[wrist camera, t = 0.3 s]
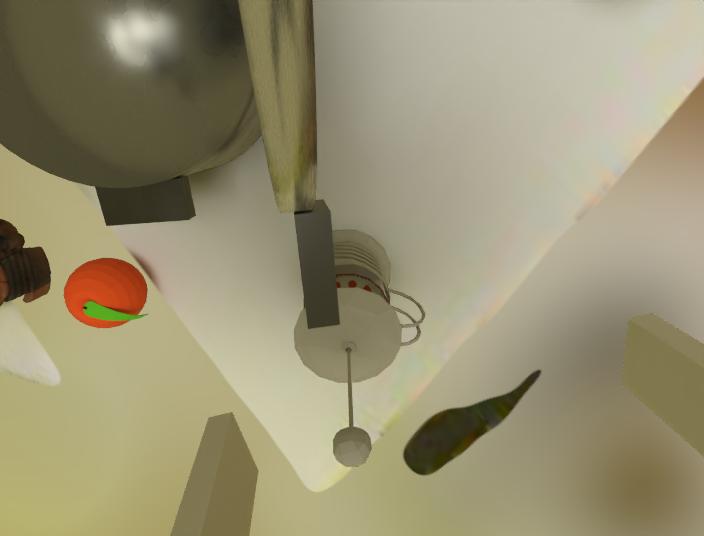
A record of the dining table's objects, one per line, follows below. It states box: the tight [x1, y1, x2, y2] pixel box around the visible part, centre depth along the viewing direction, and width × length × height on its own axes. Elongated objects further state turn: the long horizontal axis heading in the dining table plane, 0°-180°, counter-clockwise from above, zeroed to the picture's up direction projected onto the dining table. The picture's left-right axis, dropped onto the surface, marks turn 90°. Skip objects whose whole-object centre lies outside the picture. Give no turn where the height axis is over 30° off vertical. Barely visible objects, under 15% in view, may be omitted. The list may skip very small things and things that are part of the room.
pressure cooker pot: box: [0, 0, 262, 226], centre depth 29 cm, size 23×22×12 cm
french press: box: [294, 230, 425, 467], centre depth 29 cm, size 10×12×25 cm
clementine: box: [64, 258, 147, 328], centre depth 37 cm, size 8×7×7 cm
